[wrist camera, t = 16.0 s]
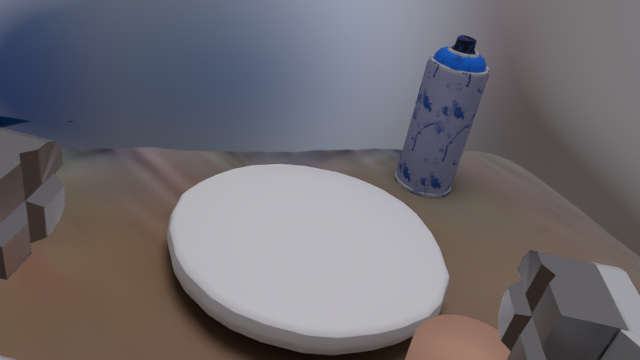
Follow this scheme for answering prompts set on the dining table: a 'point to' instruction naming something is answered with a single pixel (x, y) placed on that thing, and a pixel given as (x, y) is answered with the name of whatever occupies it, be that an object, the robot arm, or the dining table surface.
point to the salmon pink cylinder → (456, 340)
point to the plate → (306, 259)
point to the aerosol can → (442, 119)
